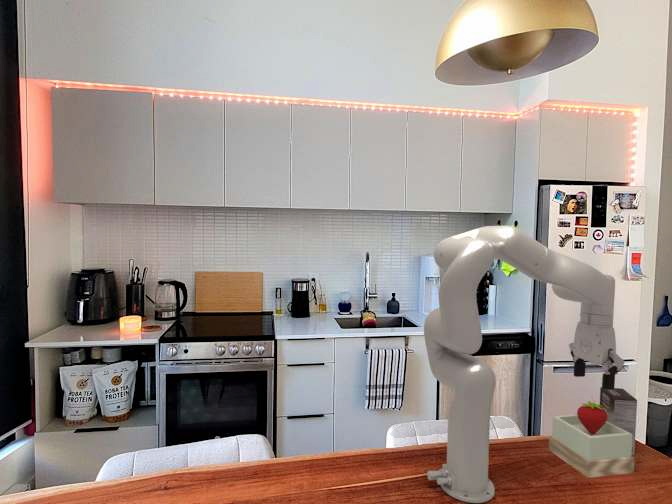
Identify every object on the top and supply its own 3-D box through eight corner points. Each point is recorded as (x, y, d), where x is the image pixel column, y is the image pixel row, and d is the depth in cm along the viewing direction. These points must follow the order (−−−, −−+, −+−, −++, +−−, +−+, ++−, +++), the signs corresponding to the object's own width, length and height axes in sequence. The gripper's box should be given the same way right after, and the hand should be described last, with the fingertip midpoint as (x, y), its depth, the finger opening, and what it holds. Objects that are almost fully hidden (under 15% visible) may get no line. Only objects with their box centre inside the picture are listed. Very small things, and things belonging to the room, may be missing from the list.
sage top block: (589, 461, 104) (590, 438, 103) (552, 436, 116) (552, 416, 116) (631, 456, 106) (632, 434, 106) (590, 433, 119) (591, 413, 119)
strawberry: (571, 429, 114) (572, 394, 114) (597, 428, 114) (598, 393, 114) (585, 439, 108) (585, 402, 108) (612, 439, 108) (613, 402, 108)
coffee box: (596, 437, 125) (599, 386, 124) (620, 440, 123) (622, 388, 123) (610, 453, 116) (613, 397, 115) (636, 455, 114) (638, 399, 114)
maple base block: (587, 479, 103) (588, 462, 103) (548, 451, 117) (549, 436, 117) (633, 474, 106) (634, 457, 106) (590, 447, 120) (590, 432, 120)
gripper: (561, 313, 118) (558, 372, 118) (611, 326, 101) (607, 394, 101) (583, 314, 119) (580, 371, 120) (637, 326, 102) (633, 393, 103)
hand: (593, 382), depth 110 cm, fingers open, 9 cm apart
